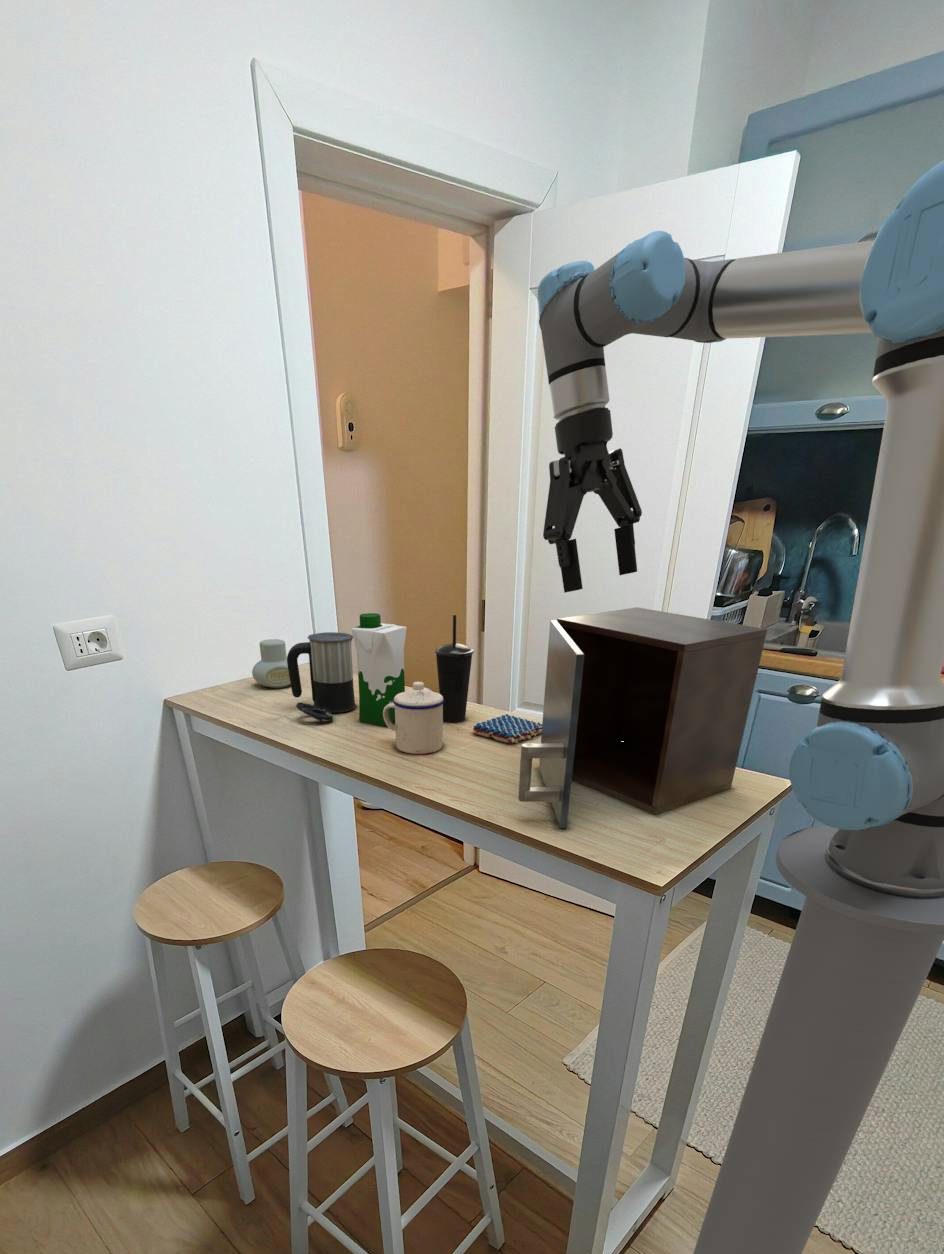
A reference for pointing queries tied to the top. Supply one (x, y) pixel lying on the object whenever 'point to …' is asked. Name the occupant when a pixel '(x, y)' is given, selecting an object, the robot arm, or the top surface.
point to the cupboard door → (556, 727)
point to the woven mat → (508, 728)
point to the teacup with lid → (417, 720)
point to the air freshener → (272, 664)
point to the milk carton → (378, 666)
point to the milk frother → (325, 674)
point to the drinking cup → (454, 677)
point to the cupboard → (661, 704)
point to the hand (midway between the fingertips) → (601, 582)
